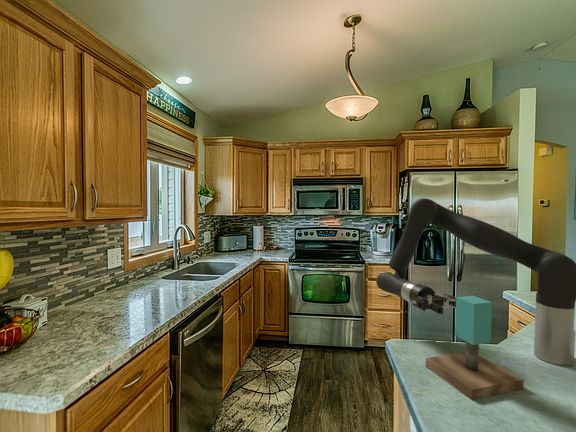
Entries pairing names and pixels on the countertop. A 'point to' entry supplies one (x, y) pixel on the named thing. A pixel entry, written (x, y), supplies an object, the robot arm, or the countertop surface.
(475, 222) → the robot arm
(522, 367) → the countertop surface
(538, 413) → the countertop surface
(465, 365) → the post stand
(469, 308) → the tall teal pillar
